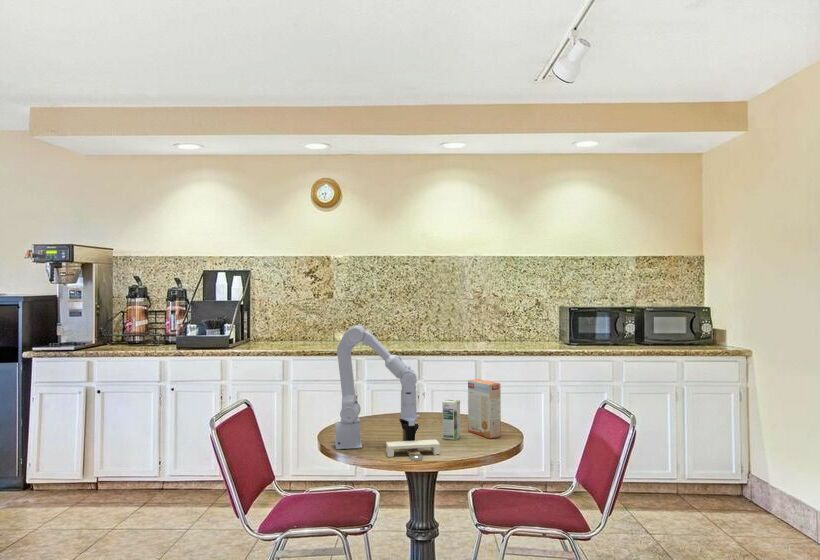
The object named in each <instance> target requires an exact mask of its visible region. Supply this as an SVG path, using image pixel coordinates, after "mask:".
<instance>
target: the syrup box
mask: <svg viewBox="0 0 820 560" xmlns="http://www.w3.org/2000/svg"><path fill="white" fill-rule="evenodd" d="M441 407H442V409H441V410H442V440H452V441H457V440H458V439H459V438H460V437H461V400H460V399H450V398H449V399H448V398H446V399H444V400H442V405H441Z"/></svg>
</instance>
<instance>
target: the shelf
mask: <svg viewBox="0 0 820 560" xmlns="http://www.w3.org/2000/svg"><path fill="white" fill-rule="evenodd" d="M385 444H386V445H385V450H386V451H385V453H386V455H387V458H394V457H395V450H405V449H408V448H417V449H426V448H427V449H428V448H430V450H432V451H431V453H432V454H433V455H434V456H436V455H437V454H440V455H441V444H440V442H439V441H438V440H437V439H424V440H423V439H419V440H415V441H403V440H398V441H394V440H393V441H386V442H385ZM393 456H394V457H393ZM437 456H438V455H437Z"/></svg>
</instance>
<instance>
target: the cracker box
mask: <svg viewBox="0 0 820 560" xmlns="http://www.w3.org/2000/svg"><path fill="white" fill-rule="evenodd" d="M501 397H502V396H501V383H500V382H494V381H490V380H484V379H479V378H476V379H469V380H467V430H468V432H469V433H472V434H475V435H477V436H481V437H484V438H487V439H496V438H500V437H502V433H501V432H502V431H501V430H502V429H501V428H502V427H501V419H502V418H501V415H502V414H501V409H502V407H501Z"/></svg>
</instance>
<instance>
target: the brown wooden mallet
mask: <svg viewBox="0 0 820 560" xmlns="http://www.w3.org/2000/svg"><path fill="white" fill-rule="evenodd" d="M402 441H407V439H406V433H405V429H402ZM414 441H416V440H415V439H414ZM405 451H406V454H407V455H408V454H409V455H408V457H409V456H410V455H411V454H421V452H420V450H419V448H408V449H406V450H405Z"/></svg>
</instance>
